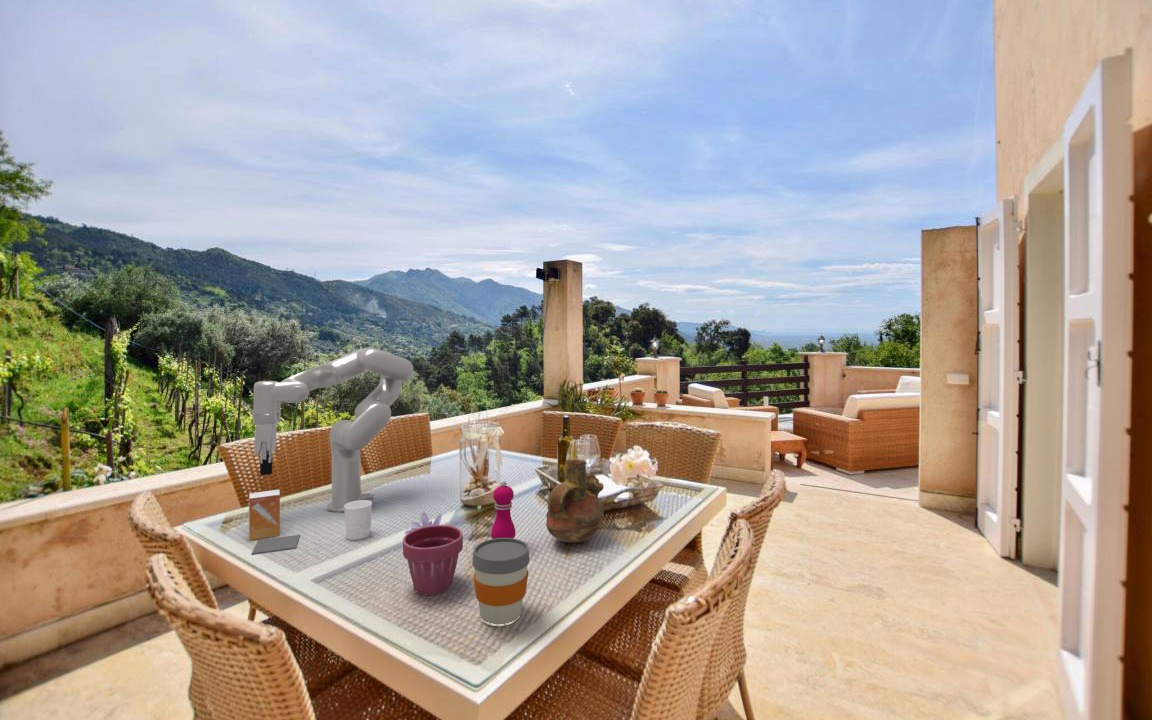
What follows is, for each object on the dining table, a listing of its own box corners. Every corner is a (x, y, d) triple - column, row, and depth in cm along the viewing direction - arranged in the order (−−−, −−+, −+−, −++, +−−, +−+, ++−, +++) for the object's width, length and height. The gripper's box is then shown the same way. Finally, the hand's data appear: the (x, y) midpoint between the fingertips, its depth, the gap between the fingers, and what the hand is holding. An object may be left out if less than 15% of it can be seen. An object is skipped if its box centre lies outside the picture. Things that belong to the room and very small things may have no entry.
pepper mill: (519, 545, 145) (520, 478, 144) (508, 554, 138) (508, 485, 137) (498, 541, 147) (498, 476, 147) (486, 551, 140) (486, 482, 140)
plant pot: (423, 608, 110) (423, 552, 110) (391, 587, 119) (391, 536, 119) (474, 584, 121) (474, 534, 120) (441, 567, 130) (441, 520, 130)
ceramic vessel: (621, 531, 156) (622, 454, 155) (575, 560, 135) (576, 471, 134) (578, 520, 166) (579, 447, 165) (528, 545, 145) (529, 462, 144)
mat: (300, 535, 150) (300, 534, 150) (296, 548, 141) (296, 547, 141) (258, 541, 146) (258, 540, 146) (251, 554, 136) (251, 553, 136)
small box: (249, 541, 146) (248, 498, 145) (249, 534, 151) (248, 492, 151) (280, 535, 150) (280, 494, 150) (279, 528, 155) (279, 488, 155)
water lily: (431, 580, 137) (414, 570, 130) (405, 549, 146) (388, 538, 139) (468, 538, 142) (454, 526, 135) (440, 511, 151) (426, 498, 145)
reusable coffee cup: (488, 596, 115) (488, 534, 115) (537, 605, 112) (538, 541, 111) (461, 625, 103) (461, 556, 103) (515, 636, 100) (515, 565, 99)
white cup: (377, 533, 152) (377, 502, 152) (356, 543, 145) (356, 510, 145) (359, 529, 156) (359, 498, 155) (338, 538, 149) (338, 506, 148)
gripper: (257, 416, 164) (257, 470, 164) (248, 422, 150) (247, 481, 151) (283, 415, 167) (282, 468, 167) (276, 421, 153) (275, 479, 154)
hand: (266, 474), depth 159 cm, fingers closed
